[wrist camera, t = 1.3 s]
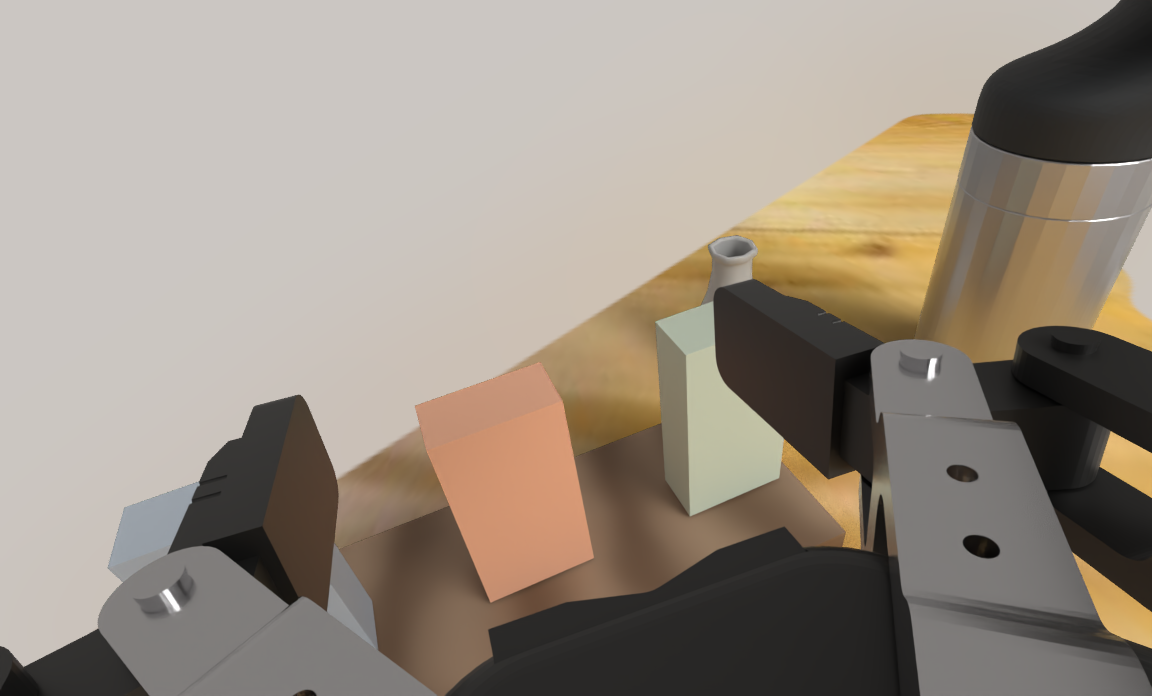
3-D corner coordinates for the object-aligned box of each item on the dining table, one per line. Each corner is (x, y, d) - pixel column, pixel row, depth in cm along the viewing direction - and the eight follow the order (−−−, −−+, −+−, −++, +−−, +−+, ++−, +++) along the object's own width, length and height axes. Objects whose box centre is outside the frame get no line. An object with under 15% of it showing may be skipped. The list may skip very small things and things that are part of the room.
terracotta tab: (574, 516, 36) (540, 361, 28) (594, 558, 33) (562, 400, 26) (477, 557, 34) (414, 405, 27) (490, 602, 32) (426, 450, 25)
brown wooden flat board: (723, 417, 43) (724, 398, 42) (841, 550, 34) (845, 531, 33) (259, 601, 36) (245, 585, 35) (250, 831, 27) (230, 819, 26)
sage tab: (749, 444, 38) (760, 284, 31) (779, 478, 36) (798, 313, 29) (665, 479, 37) (655, 321, 30) (690, 516, 35) (685, 355, 27)
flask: (714, 400, 45) (716, 286, 38) (666, 348, 50) (661, 240, 44) (796, 367, 46) (810, 252, 40) (740, 320, 52) (746, 212, 45)
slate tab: (372, 600, 33) (276, 454, 26) (378, 651, 31) (275, 506, 23) (259, 647, 32) (124, 507, 24) (256, 704, 30) (107, 567, 22)
